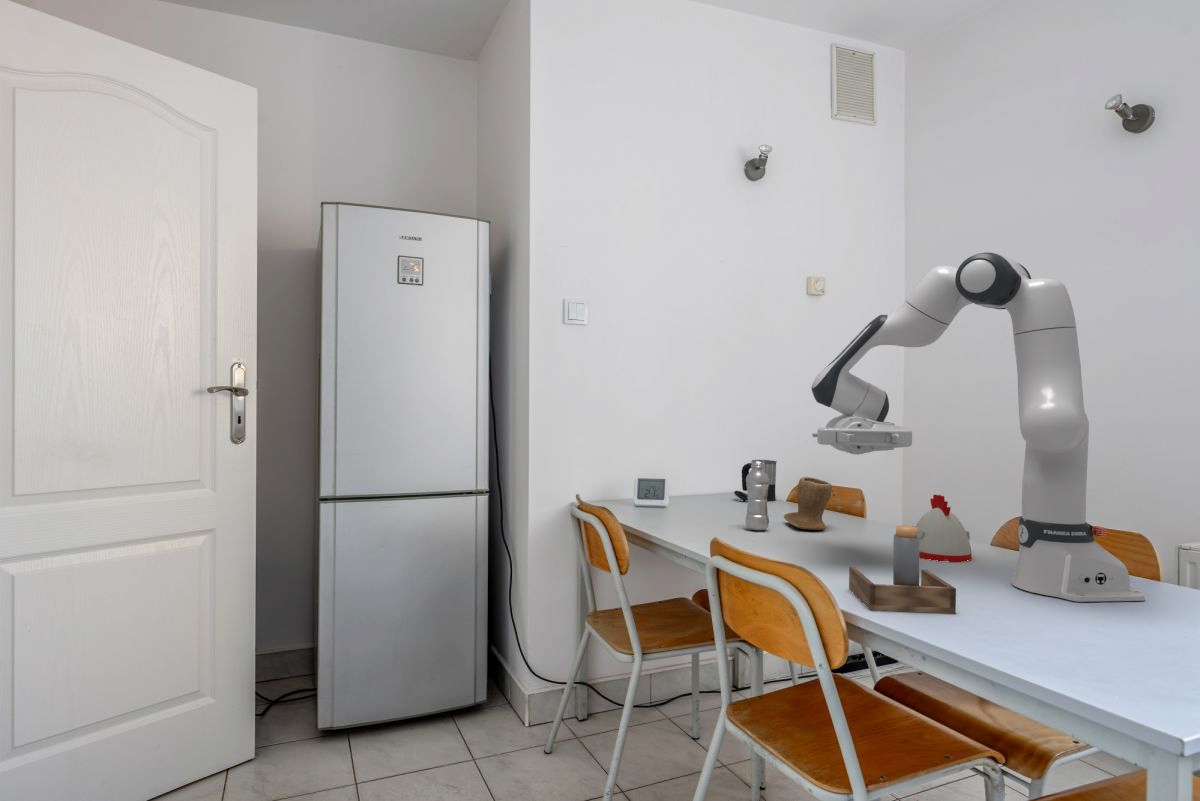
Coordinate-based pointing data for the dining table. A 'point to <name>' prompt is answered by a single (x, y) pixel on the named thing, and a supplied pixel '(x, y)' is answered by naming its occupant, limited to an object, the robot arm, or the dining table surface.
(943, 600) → the box
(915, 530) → the grey bottle with cap
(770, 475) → the milk frother
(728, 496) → the dining table surface
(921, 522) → the kitchen timer
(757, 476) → the plastic bottle
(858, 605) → the dining table surface
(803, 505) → the brown flared piece
